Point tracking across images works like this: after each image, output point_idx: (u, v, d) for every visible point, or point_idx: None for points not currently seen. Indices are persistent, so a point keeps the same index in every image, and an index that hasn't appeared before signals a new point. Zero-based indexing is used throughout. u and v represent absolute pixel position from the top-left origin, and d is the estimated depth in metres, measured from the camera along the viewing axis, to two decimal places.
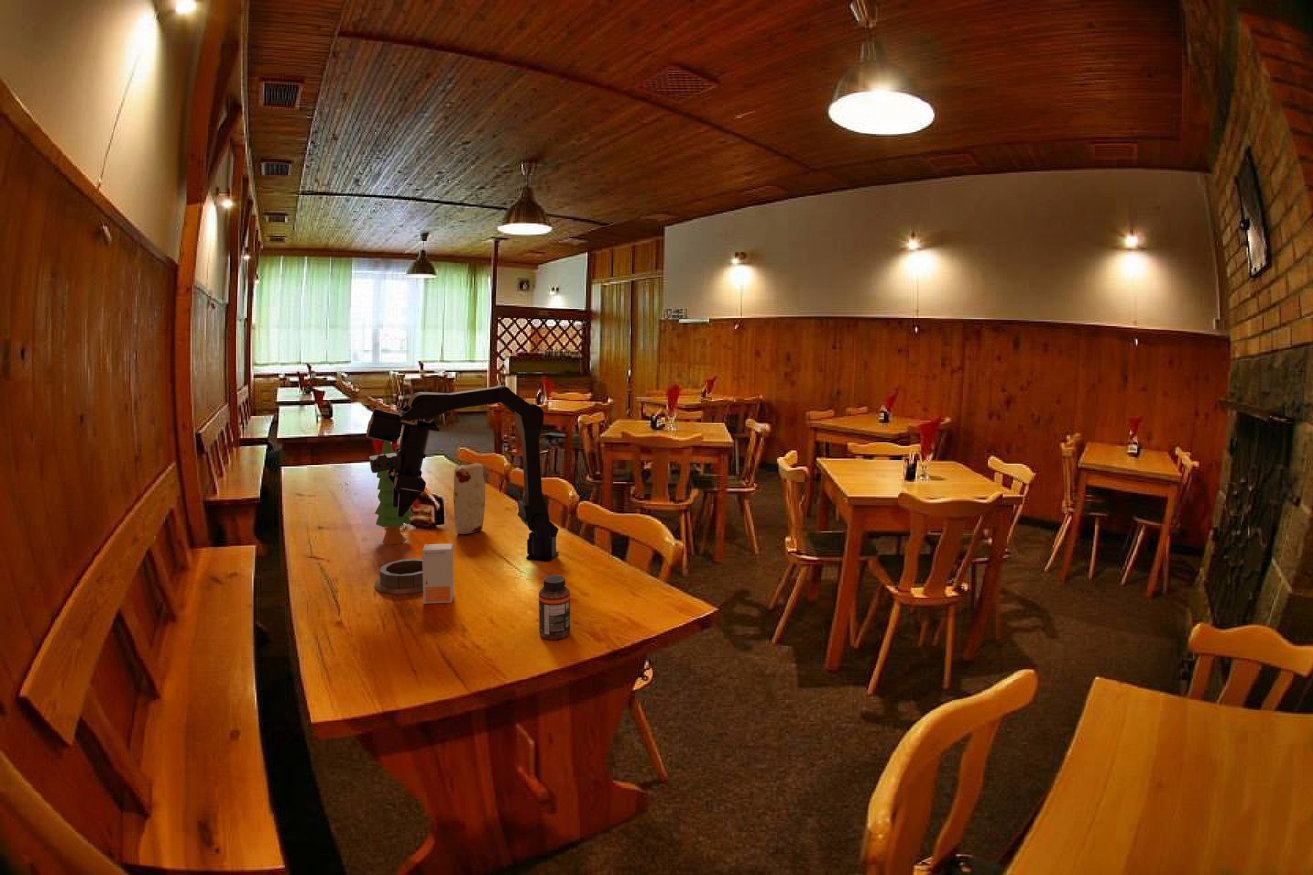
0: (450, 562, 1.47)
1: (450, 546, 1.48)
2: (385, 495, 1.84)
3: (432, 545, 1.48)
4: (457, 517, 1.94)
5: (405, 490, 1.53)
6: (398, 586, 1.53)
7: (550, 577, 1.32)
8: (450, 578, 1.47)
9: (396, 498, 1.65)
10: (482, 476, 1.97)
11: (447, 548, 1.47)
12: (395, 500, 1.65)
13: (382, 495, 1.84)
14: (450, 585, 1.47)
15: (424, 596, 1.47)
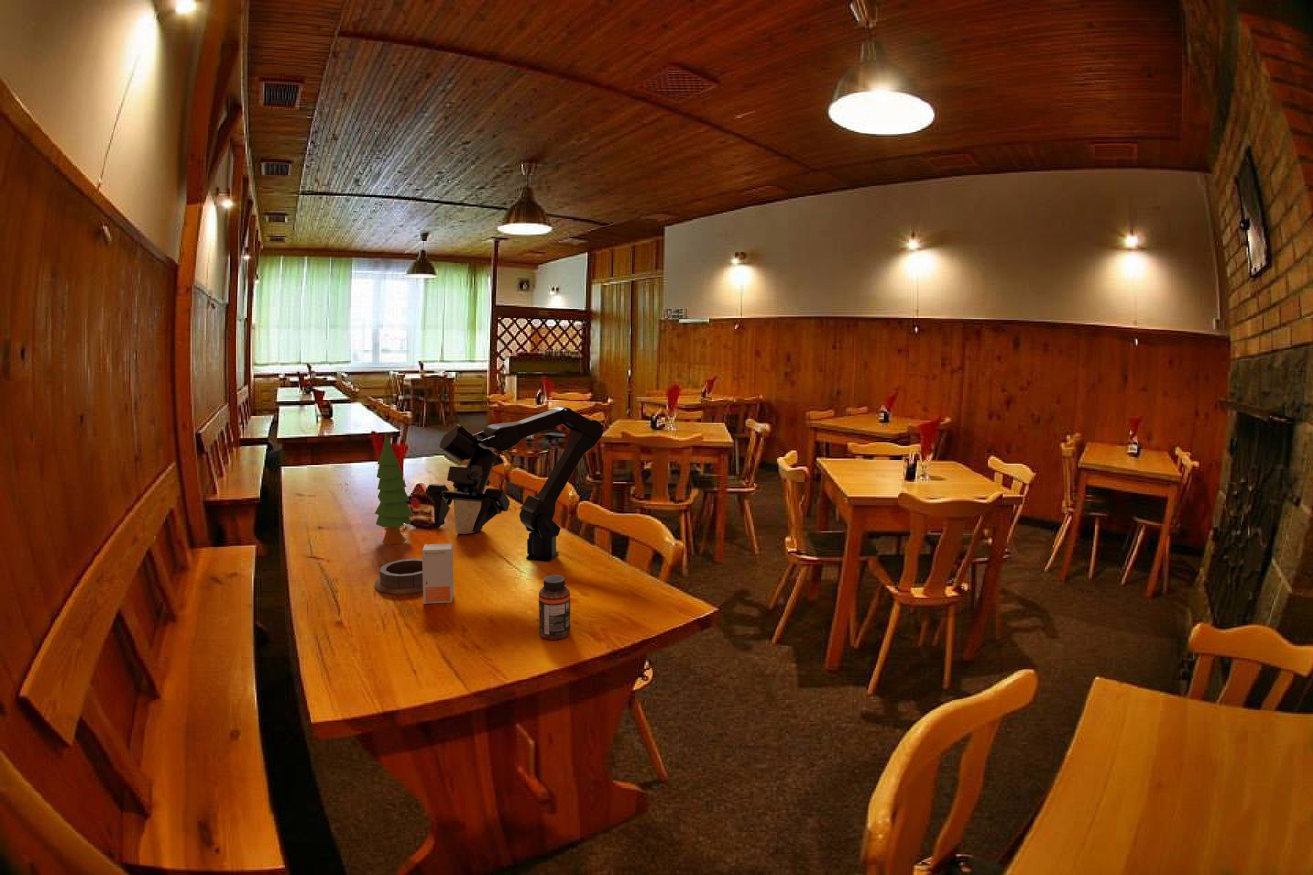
0: (450, 562, 1.47)
1: (450, 546, 1.48)
2: (385, 495, 1.84)
3: (432, 545, 1.48)
4: (457, 517, 1.94)
5: (496, 504, 1.56)
6: (398, 586, 1.53)
7: (550, 577, 1.32)
8: (450, 578, 1.47)
9: (440, 519, 1.57)
10: None
11: (447, 548, 1.47)
12: (439, 521, 1.56)
13: (382, 495, 1.84)
14: (450, 585, 1.47)
15: (424, 596, 1.47)
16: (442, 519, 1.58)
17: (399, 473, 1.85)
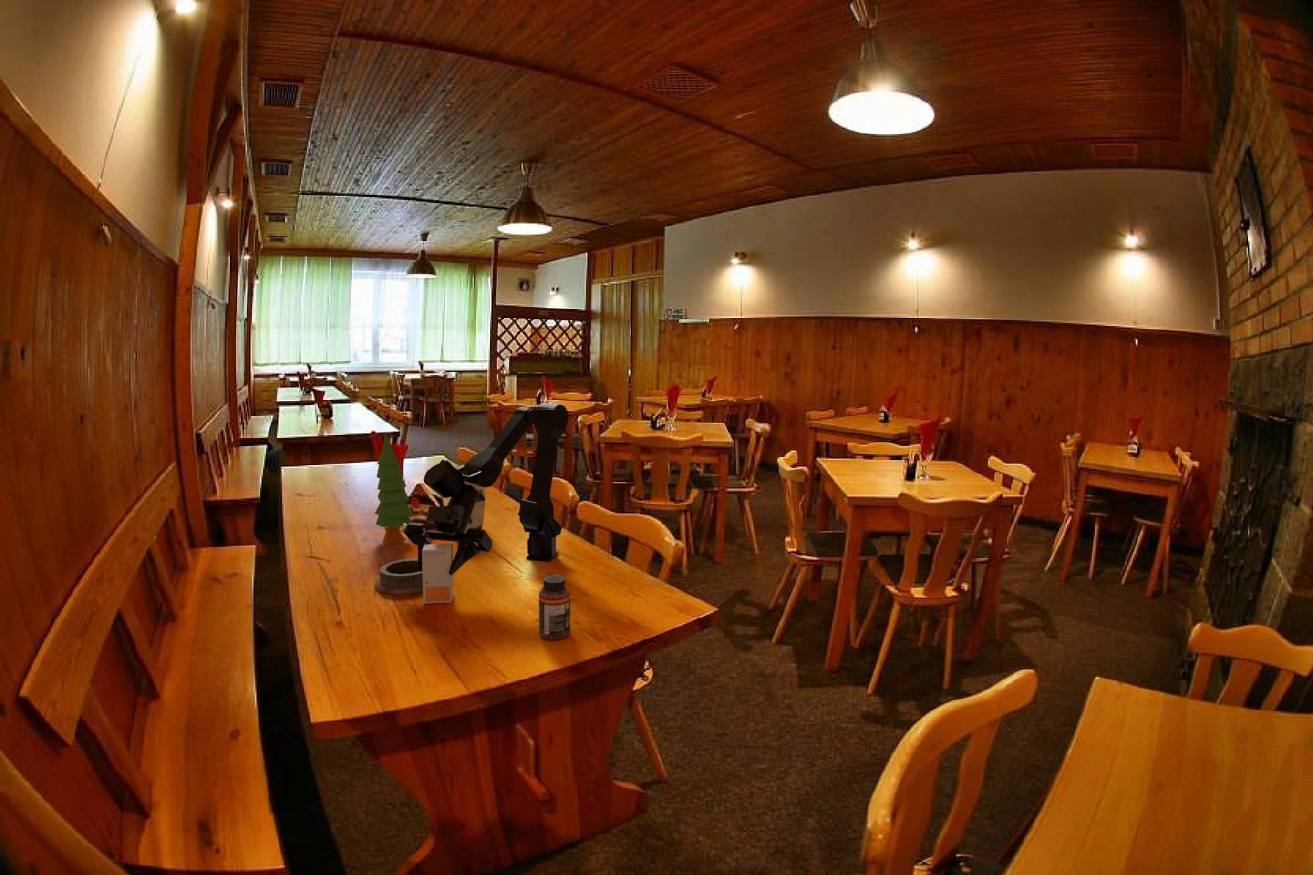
0: (450, 562, 1.47)
1: (450, 546, 1.48)
2: (385, 495, 1.84)
3: (432, 545, 1.48)
4: None
5: (474, 545, 1.49)
6: (398, 586, 1.53)
7: (550, 577, 1.32)
8: (450, 578, 1.47)
9: None
10: None
11: (447, 548, 1.47)
12: None
13: (382, 495, 1.84)
14: (450, 585, 1.47)
15: (424, 596, 1.47)
16: None
17: (399, 474, 1.85)
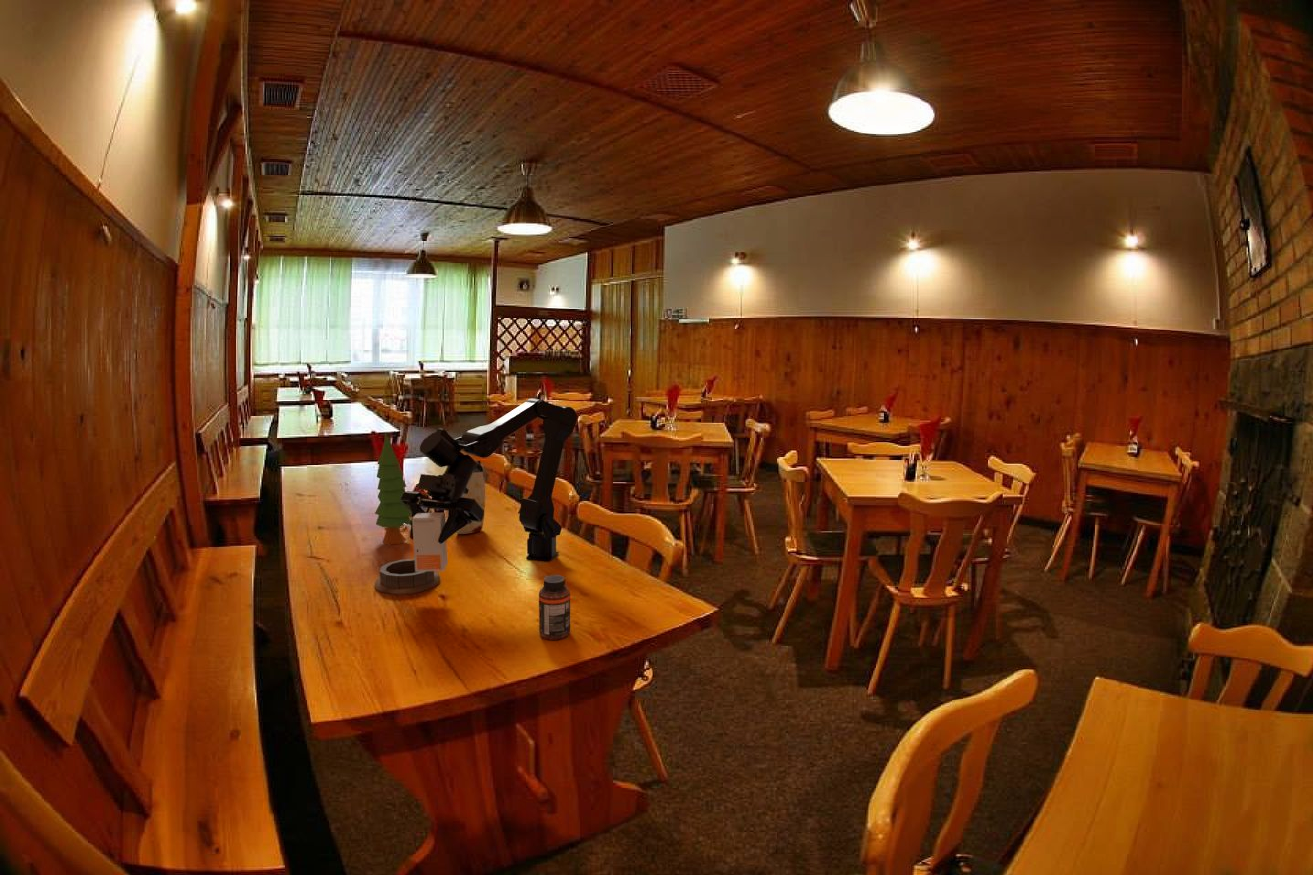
0: (440, 530, 1.47)
1: (440, 515, 1.48)
2: (385, 495, 1.84)
3: (424, 514, 1.49)
4: None
5: (464, 515, 1.48)
6: (398, 586, 1.53)
7: (550, 577, 1.32)
8: (440, 546, 1.47)
9: None
10: (482, 476, 1.97)
11: (437, 516, 1.47)
12: None
13: (382, 495, 1.84)
14: (440, 553, 1.47)
15: (416, 564, 1.48)
16: None
17: (399, 474, 1.85)
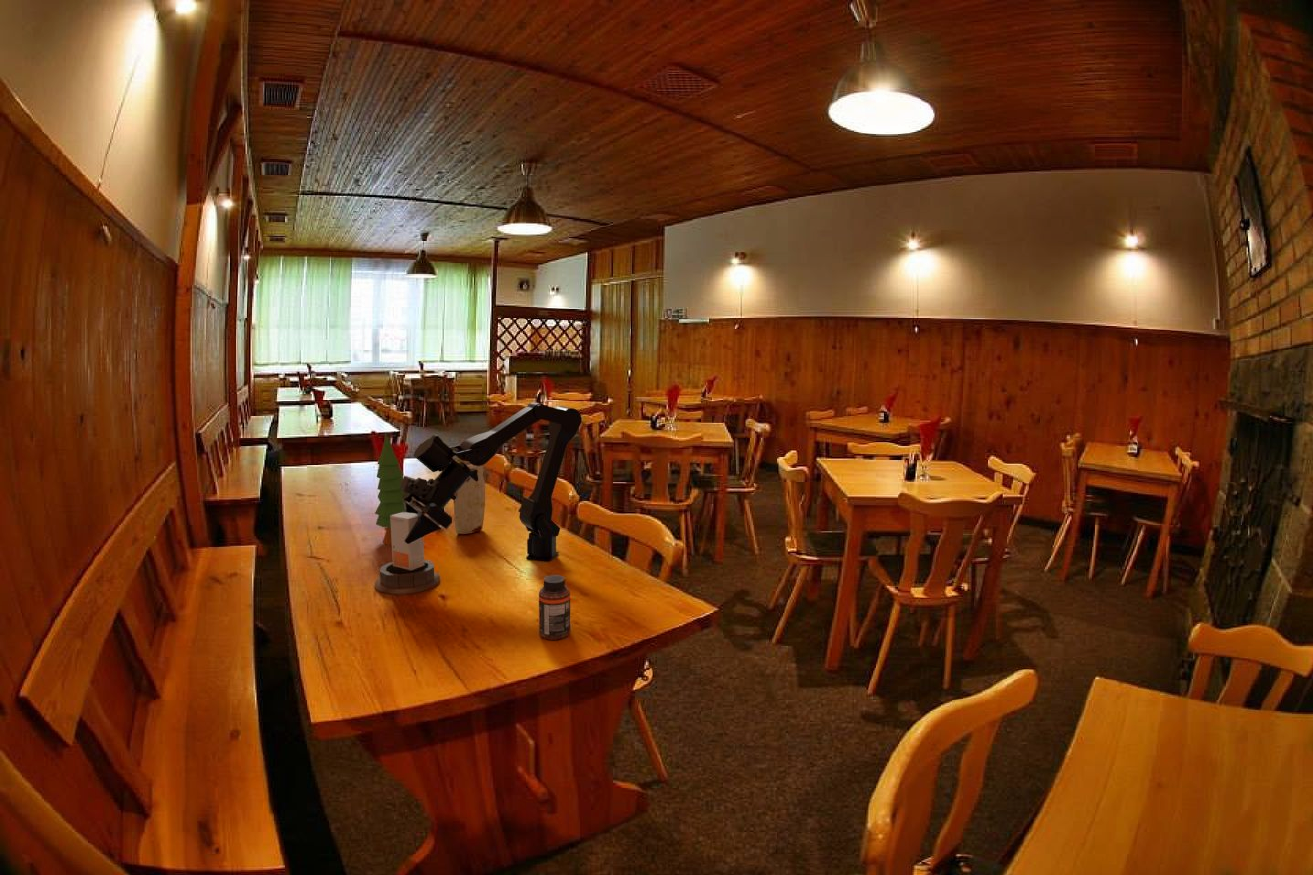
0: (408, 531, 1.54)
1: (413, 516, 1.55)
2: (385, 495, 1.84)
3: (406, 513, 1.58)
4: (457, 517, 1.94)
5: (429, 520, 1.52)
6: (398, 586, 1.53)
7: (550, 577, 1.32)
8: (408, 546, 1.54)
9: None
10: (482, 476, 1.97)
11: (407, 517, 1.54)
12: None
13: (382, 495, 1.84)
14: (409, 553, 1.55)
15: (393, 559, 1.57)
16: None
17: (399, 474, 1.85)
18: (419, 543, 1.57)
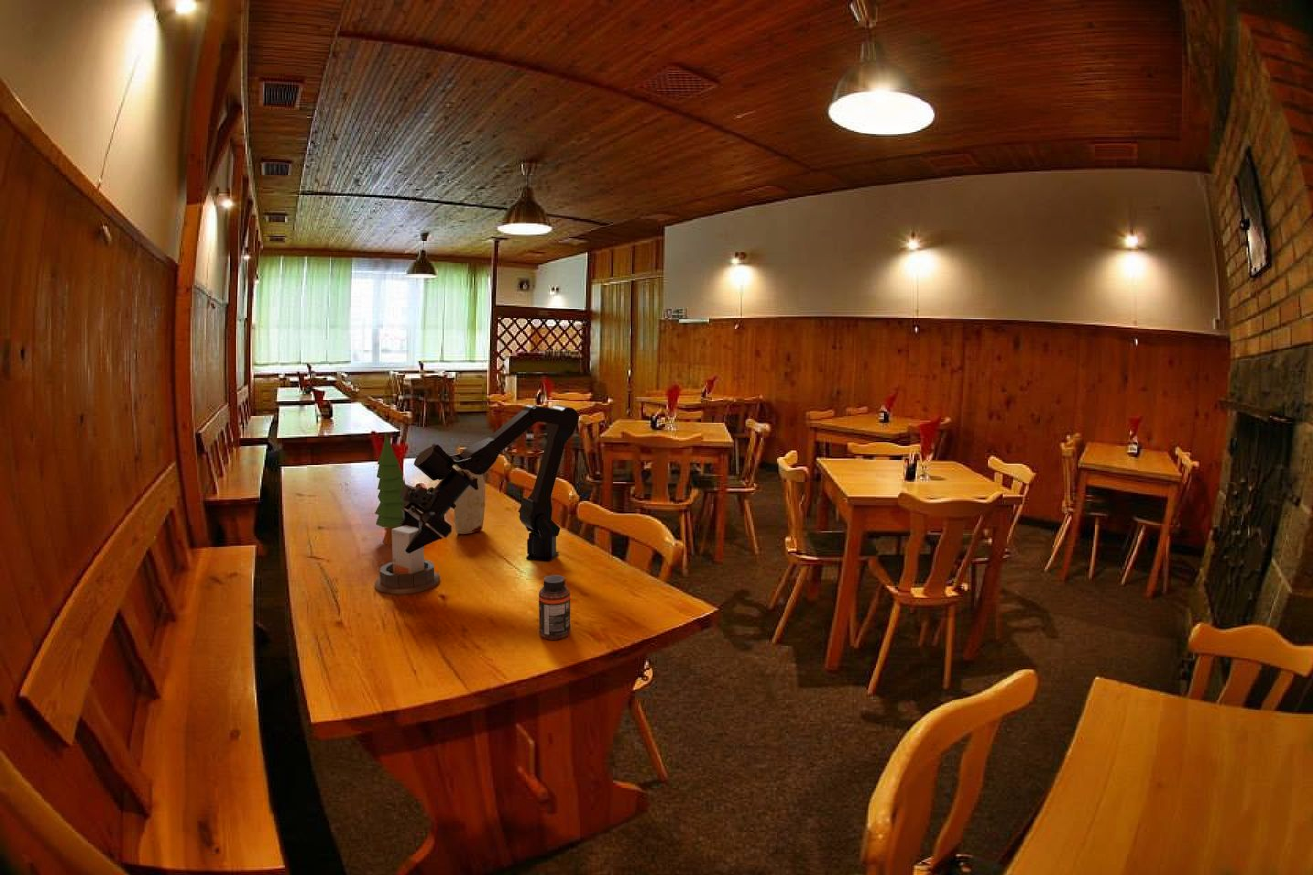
0: None
1: (414, 531, 1.55)
2: (385, 495, 1.84)
3: (407, 527, 1.58)
4: (457, 517, 1.94)
5: (430, 529, 1.52)
6: (398, 586, 1.53)
7: (550, 577, 1.32)
8: (409, 561, 1.55)
9: None
10: (482, 476, 1.97)
11: (408, 532, 1.54)
12: None
13: (382, 495, 1.84)
14: (409, 567, 1.55)
15: (393, 572, 1.58)
16: None
17: (399, 473, 1.85)
18: (420, 557, 1.57)
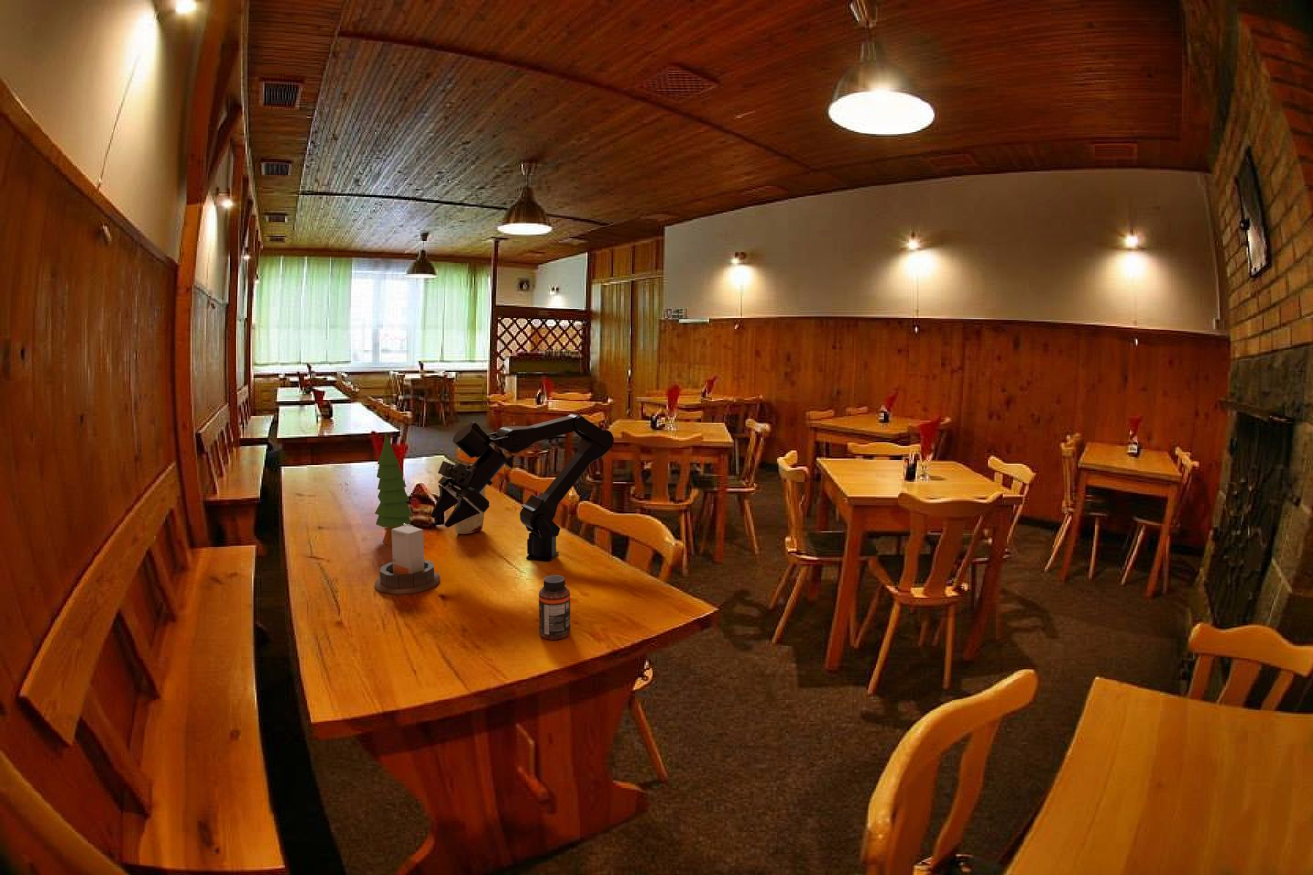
0: (408, 546, 1.54)
1: (414, 531, 1.55)
2: (385, 495, 1.84)
3: (407, 527, 1.58)
4: None
5: (469, 504, 1.56)
6: (398, 586, 1.53)
7: (550, 577, 1.32)
8: (408, 561, 1.55)
9: (437, 509, 1.65)
10: None
11: (408, 532, 1.54)
12: (435, 511, 1.65)
13: (382, 495, 1.84)
14: (409, 567, 1.55)
15: (393, 572, 1.58)
16: (442, 510, 1.66)
17: (399, 473, 1.85)
18: (419, 557, 1.57)
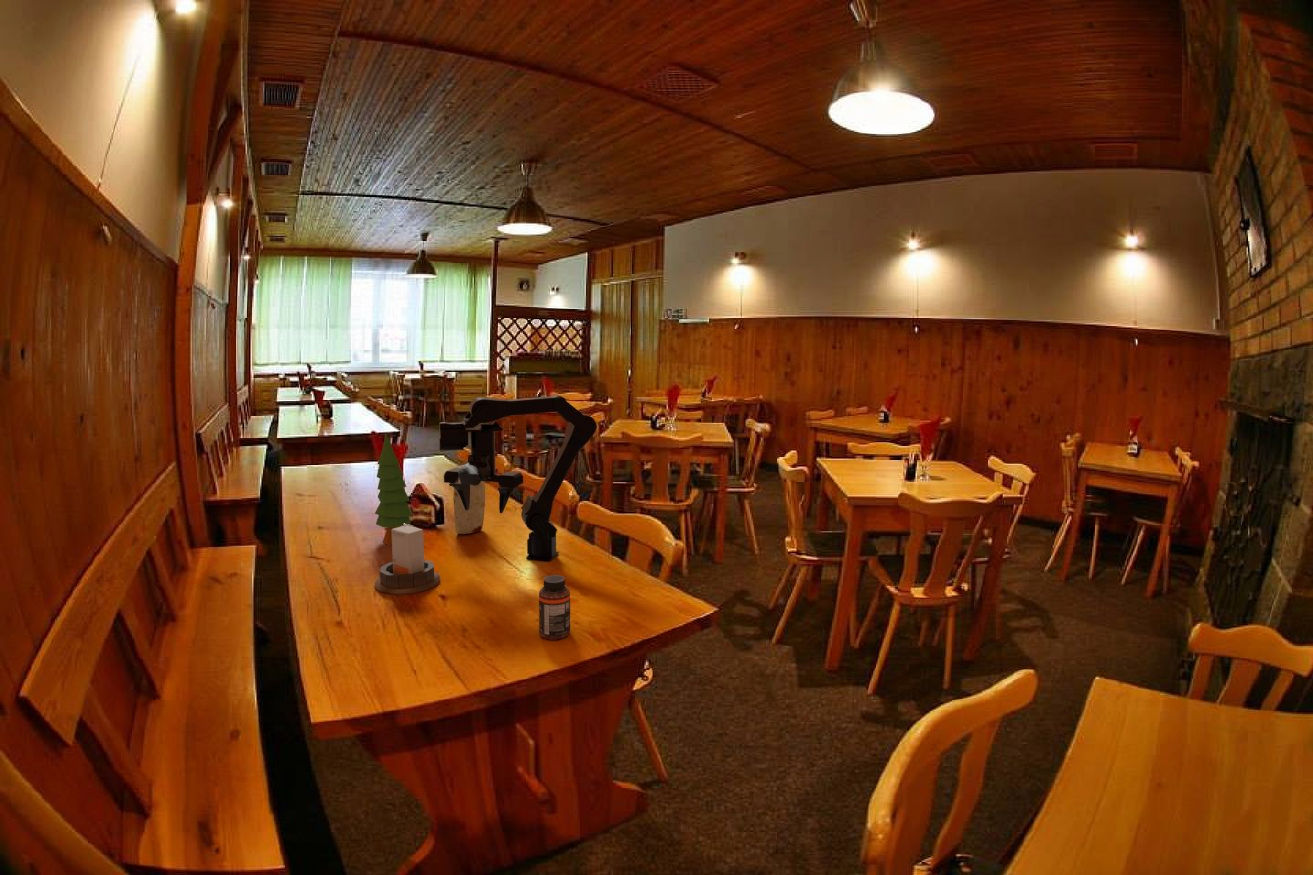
0: (408, 546, 1.54)
1: (414, 531, 1.55)
2: (385, 495, 1.84)
3: (407, 527, 1.58)
4: (457, 517, 1.94)
5: (512, 488, 1.68)
6: (398, 586, 1.53)
7: (550, 577, 1.32)
8: (408, 561, 1.55)
9: (467, 502, 1.72)
10: None
11: (408, 532, 1.54)
12: (467, 504, 1.72)
13: (382, 495, 1.84)
14: (409, 567, 1.55)
15: (393, 572, 1.58)
16: (468, 498, 1.73)
17: (399, 474, 1.85)
18: (419, 557, 1.57)
